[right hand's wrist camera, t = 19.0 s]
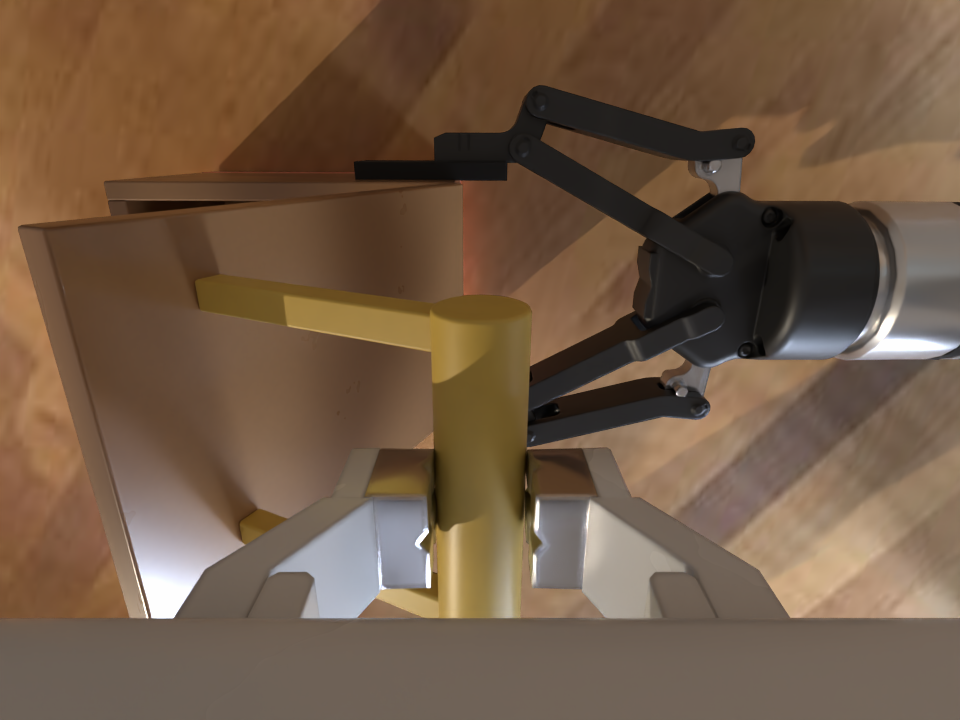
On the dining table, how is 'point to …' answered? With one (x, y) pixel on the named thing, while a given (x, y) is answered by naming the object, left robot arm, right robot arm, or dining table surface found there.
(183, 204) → the chest
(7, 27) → the dining table surface
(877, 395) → the dining table surface
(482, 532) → the lid
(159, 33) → the dining table surface
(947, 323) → the left robot arm
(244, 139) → the dining table surface
